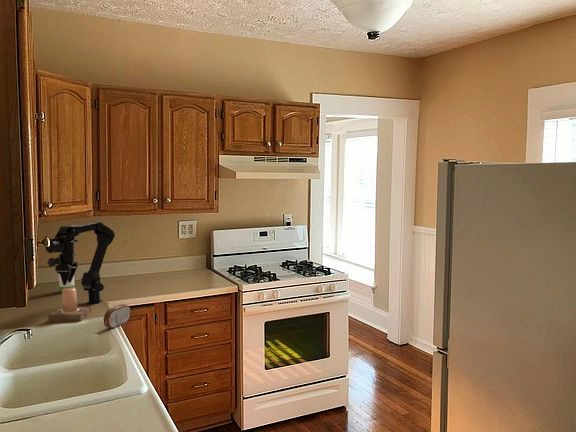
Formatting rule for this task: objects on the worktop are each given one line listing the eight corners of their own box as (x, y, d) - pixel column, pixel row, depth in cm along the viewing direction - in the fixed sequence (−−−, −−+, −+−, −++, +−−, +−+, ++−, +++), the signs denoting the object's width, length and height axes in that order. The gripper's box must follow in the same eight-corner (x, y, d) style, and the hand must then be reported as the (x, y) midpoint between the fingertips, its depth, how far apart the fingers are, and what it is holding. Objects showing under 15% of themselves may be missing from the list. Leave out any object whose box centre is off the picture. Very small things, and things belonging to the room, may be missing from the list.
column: (62, 309, 234) (61, 288, 233) (76, 308, 236) (75, 287, 236) (63, 312, 228) (62, 291, 228) (77, 311, 231) (76, 289, 230)
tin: (126, 320, 226) (126, 301, 226) (132, 320, 225) (131, 302, 225) (103, 330, 213) (102, 310, 212) (109, 330, 211) (108, 311, 211)
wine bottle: (77, 290, 287) (74, 238, 285) (67, 293, 280) (64, 240, 278) (67, 289, 290) (64, 237, 288) (56, 292, 283) (53, 239, 281)
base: (61, 313, 239) (60, 306, 239) (91, 312, 240) (90, 306, 240) (48, 322, 225) (48, 315, 225) (80, 321, 226) (80, 314, 226)
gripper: (55, 250, 251) (55, 281, 251) (43, 253, 233) (43, 287, 233) (78, 250, 253) (78, 281, 253) (69, 253, 235) (68, 286, 235)
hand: (67, 283), depth 243 cm, fingers open, 9 cm apart
